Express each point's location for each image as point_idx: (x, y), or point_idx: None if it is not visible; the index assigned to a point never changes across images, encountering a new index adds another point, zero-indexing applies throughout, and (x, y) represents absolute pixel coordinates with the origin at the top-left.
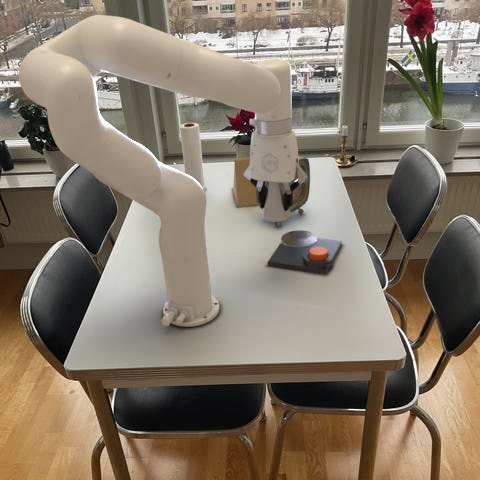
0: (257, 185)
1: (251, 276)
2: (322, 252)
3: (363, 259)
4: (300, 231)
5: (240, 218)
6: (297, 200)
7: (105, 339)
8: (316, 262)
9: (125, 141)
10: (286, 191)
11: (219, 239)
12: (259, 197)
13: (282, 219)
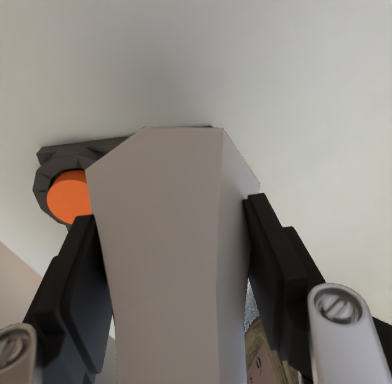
0: (368, 336)
1: (233, 50)
2: (58, 199)
3: (11, 245)
4: None
5: (358, 290)
6: (246, 368)
7: None
8: (60, 159)
9: None
10: (30, 347)
11: (386, 198)
12: (299, 250)
13: (101, 164)
